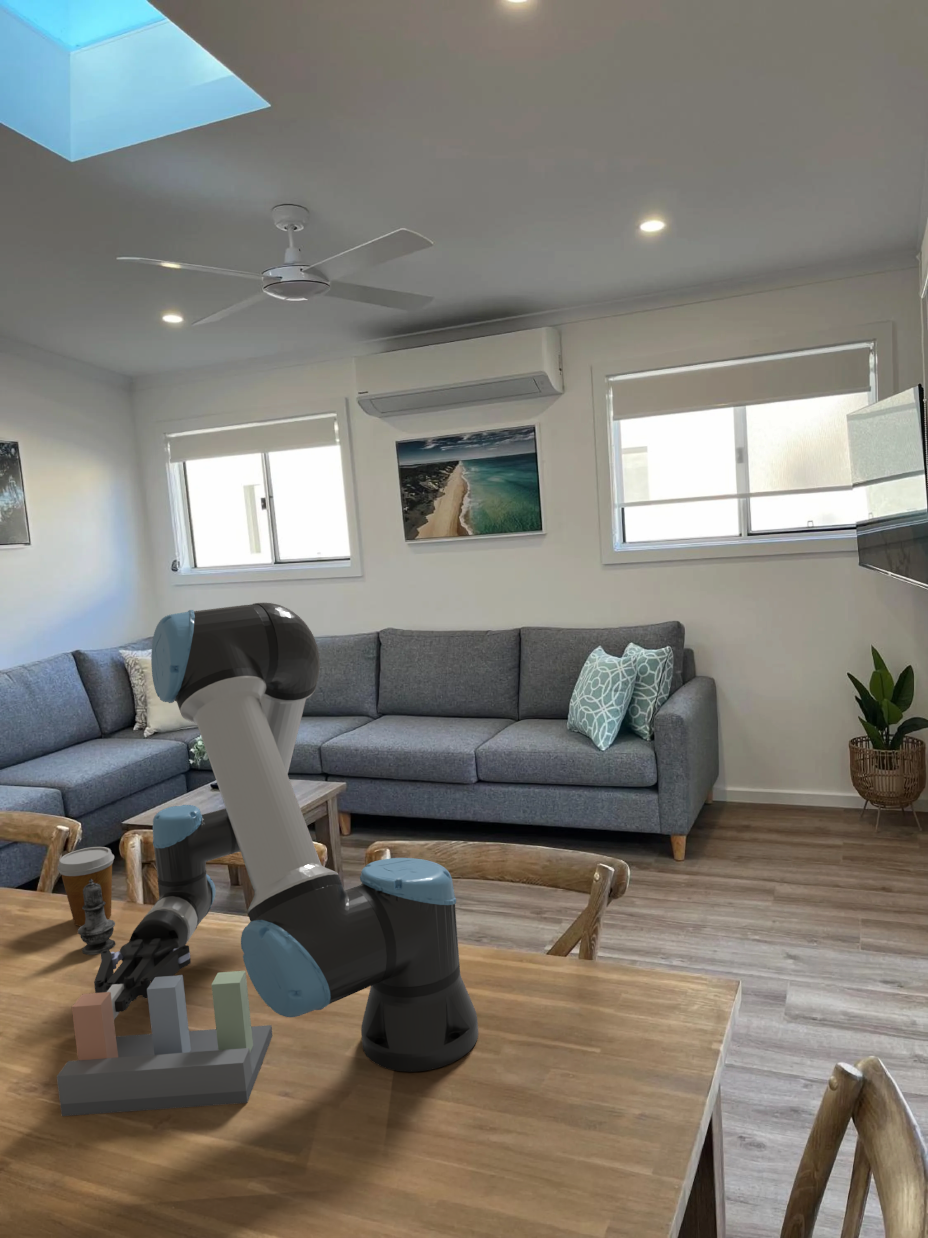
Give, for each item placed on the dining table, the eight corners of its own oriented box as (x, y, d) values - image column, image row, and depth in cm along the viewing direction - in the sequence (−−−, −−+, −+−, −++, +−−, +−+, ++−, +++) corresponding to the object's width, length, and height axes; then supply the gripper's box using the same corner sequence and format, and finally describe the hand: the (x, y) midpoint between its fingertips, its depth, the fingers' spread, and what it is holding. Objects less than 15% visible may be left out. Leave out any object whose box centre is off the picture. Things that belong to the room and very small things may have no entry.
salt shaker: (104, 956, 146) (95, 886, 145) (72, 955, 147) (64, 885, 146) (124, 939, 151) (116, 872, 150) (93, 939, 153) (85, 871, 152)
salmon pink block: (119, 1068, 110) (110, 992, 109) (110, 1083, 107) (100, 1005, 106) (91, 1070, 110) (82, 994, 109) (81, 1085, 107) (71, 1007, 106)
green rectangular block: (253, 1045, 113) (245, 970, 112) (247, 1059, 110) (239, 982, 109) (225, 1047, 113) (218, 972, 112) (219, 1061, 110) (211, 984, 109)
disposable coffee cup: (67, 914, 164) (60, 851, 163) (122, 904, 167) (115, 842, 166) (61, 935, 155) (52, 869, 154) (118, 924, 158) (111, 859, 157)
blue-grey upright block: (190, 1050, 113) (182, 975, 112) (183, 1064, 110) (175, 987, 109) (163, 1051, 113) (155, 977, 112) (155, 1065, 110) (146, 989, 109)
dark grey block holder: (272, 1035, 118) (268, 1000, 118) (247, 1103, 104) (243, 1063, 104) (108, 1047, 118) (104, 1012, 118) (61, 1116, 104) (56, 1076, 104)
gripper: (209, 953, 134) (153, 1047, 110) (123, 958, 134) (49, 1053, 110) (204, 906, 133) (147, 990, 109) (118, 911, 133) (42, 996, 109)
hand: (98, 1022), depth 110 cm, fingers closed
